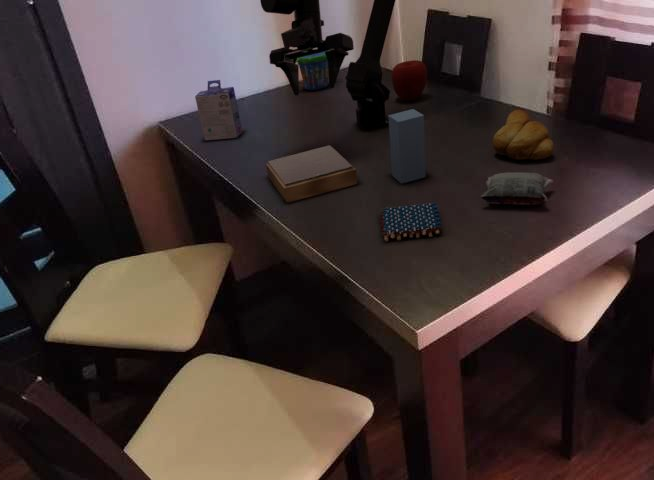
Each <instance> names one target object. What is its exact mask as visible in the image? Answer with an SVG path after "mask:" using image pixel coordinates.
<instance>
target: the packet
mask: <svg viewBox="0 0 654 480" xmlns="http://www.w3.org/2000/svg"><path fill="white" fill-rule="evenodd" d="M387 117H388V131H389V133H388V134H389V147H390V148H389V149H390V162H391V165H390V166H391V176H392V177H393V178H394V179H395V180H396V181H398V182H399V183H400V184H406V183H410V182H413V181H416V180H420V179H424V178H426V174H427V173H426V141H425V139H426V137H425V115H424V114H423V113H421V112H419V111H417V110H416V109H414V108H412V109H408V110H404V111H400V112H396V113H392V114H388V116H387Z"/></svg>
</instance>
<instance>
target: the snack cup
mask: <svg viewBox="0 0 654 480" xmlns="http://www.w3.org/2000/svg"><path fill="white" fill-rule="evenodd" d="M315 49H316V48H314V49H313V50H315ZM329 51H330V50H329ZM305 52H307V51H305ZM325 52H326V51H325ZM325 52H321V53H317V54H312V55H308V56H304V57H300V58H297V60H296V62H295V64H298V66H299V72H300V75H301V78H302V82H303V86H304V88H305V90H308V91H318V90H321V89H323V88H327V87H328V85H330V84H329V73H328V60H327V57H326V54H325Z"/></svg>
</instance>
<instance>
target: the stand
mask: <svg viewBox="0 0 654 480" xmlns="http://www.w3.org/2000/svg"><path fill="white" fill-rule="evenodd" d="M265 168H266V173H267V178H268V179H269V181H270V182H271V183H272V184H273V186H274V187H275V189H276V191H277V192H278V194H280V196H281V197H282V198H283V201H285V203H286V204H288V203H293V202H296V201H300V200H304V199H307V198H310V197H314V196H318V195H321V194H326V193H329V192H333V191H336V190H340V189H344V188H348V187H351V186H355V185H358V176H357V168H355V167H354V166H353V164H351V163H350V162H349V161H348V160H347V159H346V158H345V157H344V156H342V154H340V153H339V151H337V150H336V149H335V148H334V147H332V145H325V146H322V147H318V148H314V149H310V150H306V151H303V152H298V153H295V154H291V155H287V156H283V157H279V158H276V159H272V160H268V161H267V163H265Z"/></svg>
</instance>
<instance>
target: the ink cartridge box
mask: <svg viewBox="0 0 654 480" xmlns="http://www.w3.org/2000/svg"><path fill="white" fill-rule="evenodd" d="M213 84H217V85H214V86H211V85H213ZM221 85H222V84H221V79H214V80H207V90H201V91H199V92H198V93H197V94H196V95H195V96H194V99H195V102H196V103H195V104H196V107H197V111H198V116H199V120H200V124H201V129H202V132H203V137H204V141H205V142H206V141H216V140H225V139H236V138H239V136H241V134H242V133H243V132H244V131H243V126H242V121H241V116H240V111H239V107H238V102H237V96H236V91H235V88H234V86H228V87H221Z"/></svg>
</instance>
